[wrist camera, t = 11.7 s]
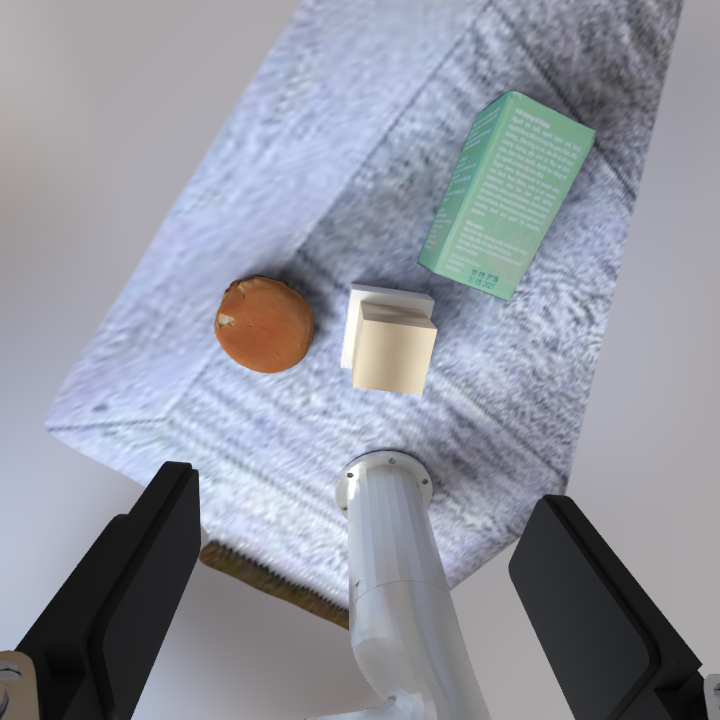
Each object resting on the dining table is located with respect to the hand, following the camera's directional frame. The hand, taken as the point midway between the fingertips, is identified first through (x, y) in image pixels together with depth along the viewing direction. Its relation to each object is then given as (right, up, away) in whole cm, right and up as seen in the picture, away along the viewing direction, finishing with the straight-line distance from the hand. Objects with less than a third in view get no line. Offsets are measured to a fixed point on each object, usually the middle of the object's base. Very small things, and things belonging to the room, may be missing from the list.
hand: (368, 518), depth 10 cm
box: (+11, +19, +24) cm, 32 cm away
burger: (-10, +9, +27) cm, 30 cm away
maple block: (+2, +7, +25) cm, 26 cm away
